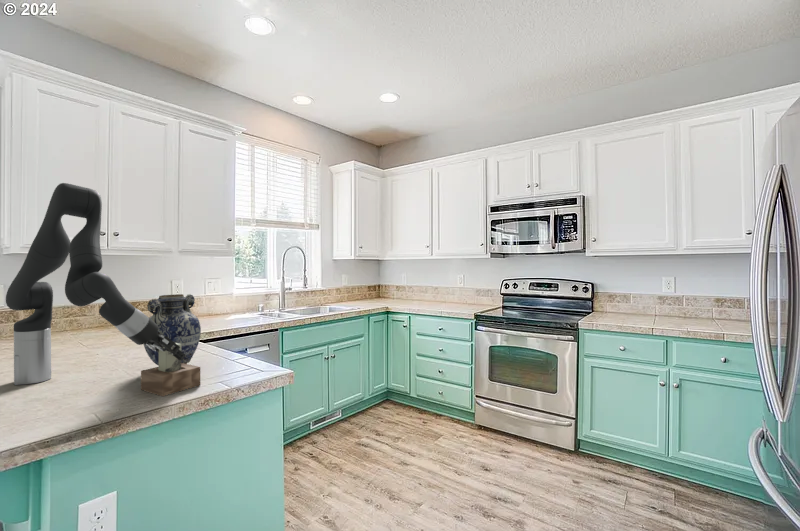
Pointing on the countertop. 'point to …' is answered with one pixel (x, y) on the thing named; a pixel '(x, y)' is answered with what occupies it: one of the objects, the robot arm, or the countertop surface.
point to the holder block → (170, 380)
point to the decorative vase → (175, 323)
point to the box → (168, 361)
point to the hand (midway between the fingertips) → (175, 356)
